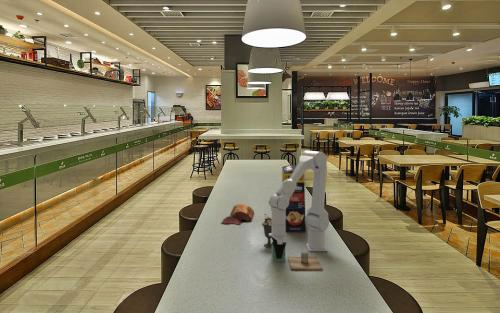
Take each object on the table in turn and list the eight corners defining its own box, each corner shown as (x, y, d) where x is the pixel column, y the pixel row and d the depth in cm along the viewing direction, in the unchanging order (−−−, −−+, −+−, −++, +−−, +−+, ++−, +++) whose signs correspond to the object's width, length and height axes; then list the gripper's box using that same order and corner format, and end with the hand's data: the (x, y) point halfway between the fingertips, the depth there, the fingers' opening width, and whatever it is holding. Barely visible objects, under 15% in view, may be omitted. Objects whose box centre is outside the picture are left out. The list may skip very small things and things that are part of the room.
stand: (288, 258, 154) (288, 247, 154) (316, 258, 154) (317, 247, 154) (291, 270, 142) (291, 258, 142) (322, 270, 142) (322, 258, 142)
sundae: (258, 245, 170) (258, 213, 168) (268, 242, 175) (268, 211, 173) (269, 249, 165) (270, 216, 164) (279, 245, 170) (279, 213, 169)
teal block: (271, 256, 157) (271, 242, 156) (284, 256, 157) (284, 242, 156) (272, 261, 152) (272, 246, 151) (285, 261, 152) (285, 246, 151)
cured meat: (220, 225, 204) (220, 213, 203) (224, 213, 228) (224, 202, 228) (253, 226, 203) (253, 214, 203) (254, 214, 228) (254, 203, 227)
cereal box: (282, 218, 217) (281, 164, 213) (302, 218, 216) (301, 163, 213) (284, 233, 190) (283, 171, 187) (306, 232, 190) (305, 170, 186)
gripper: (267, 218, 160) (267, 249, 161) (269, 228, 145) (269, 262, 147) (284, 218, 160) (284, 249, 161) (287, 228, 146) (287, 262, 147)
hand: (278, 255), depth 154 cm, fingers open, 6 cm apart
